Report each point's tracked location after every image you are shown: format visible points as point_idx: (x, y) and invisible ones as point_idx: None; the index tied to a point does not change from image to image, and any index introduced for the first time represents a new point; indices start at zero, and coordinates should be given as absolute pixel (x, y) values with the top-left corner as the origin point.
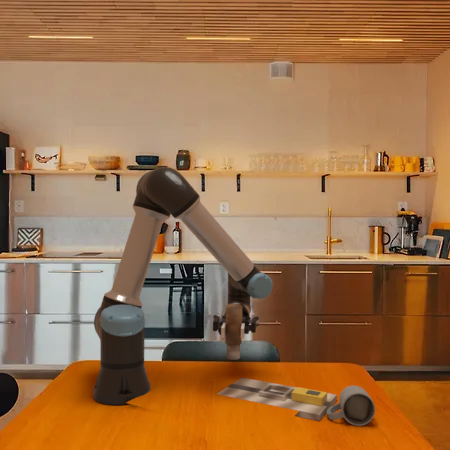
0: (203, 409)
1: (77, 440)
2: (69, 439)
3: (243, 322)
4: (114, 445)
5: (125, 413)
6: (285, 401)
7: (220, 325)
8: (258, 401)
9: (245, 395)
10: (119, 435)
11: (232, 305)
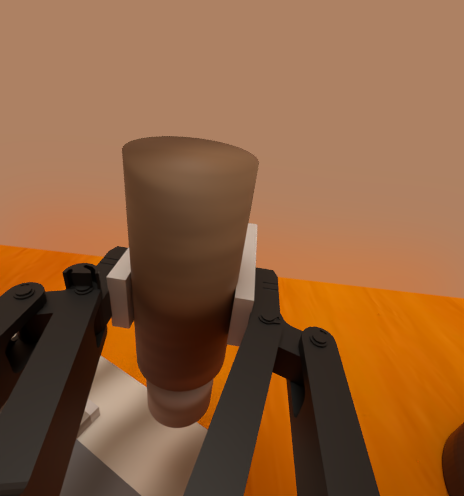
0: None
1: (417, 301)
2: (430, 304)
3: (87, 328)
4: (360, 286)
5: (422, 380)
6: None
7: (268, 302)
8: (118, 375)
9: (140, 424)
10: (371, 306)
11: (205, 155)
